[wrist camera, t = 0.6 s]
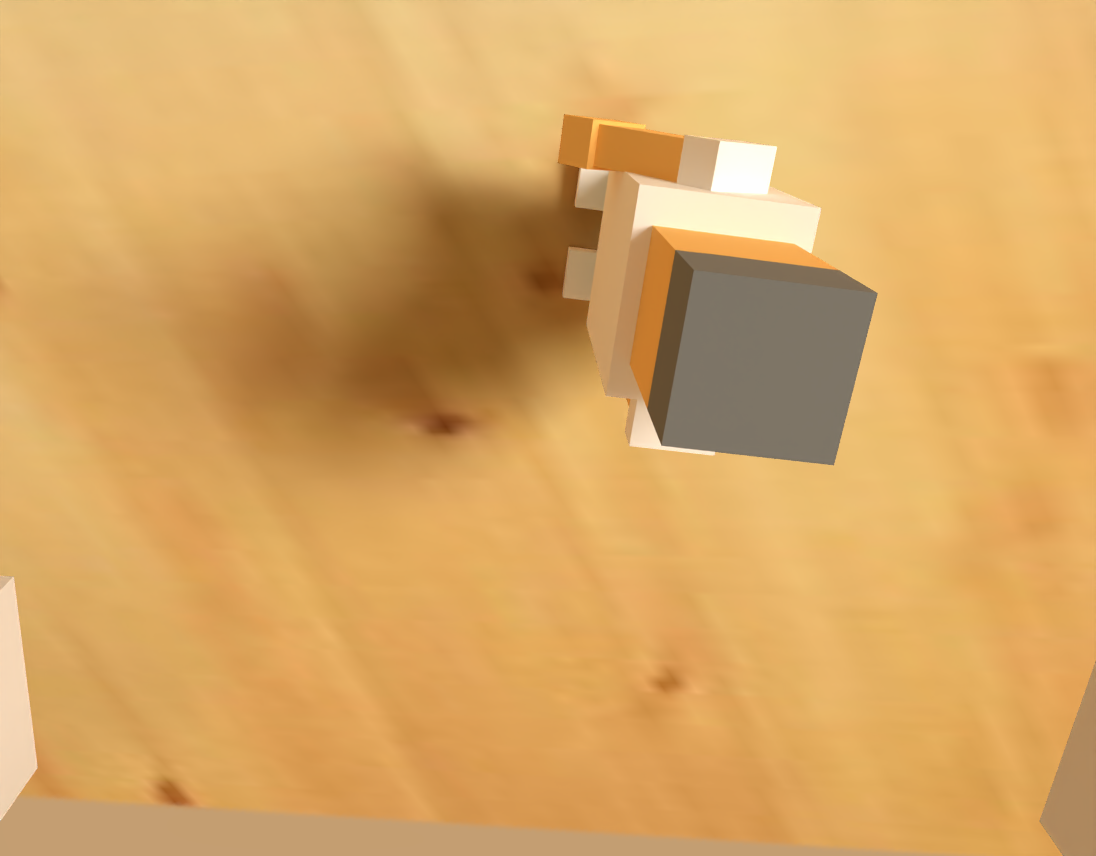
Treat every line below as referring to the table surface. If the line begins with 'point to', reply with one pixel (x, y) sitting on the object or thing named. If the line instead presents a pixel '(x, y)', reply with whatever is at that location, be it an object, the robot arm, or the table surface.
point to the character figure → (711, 296)
